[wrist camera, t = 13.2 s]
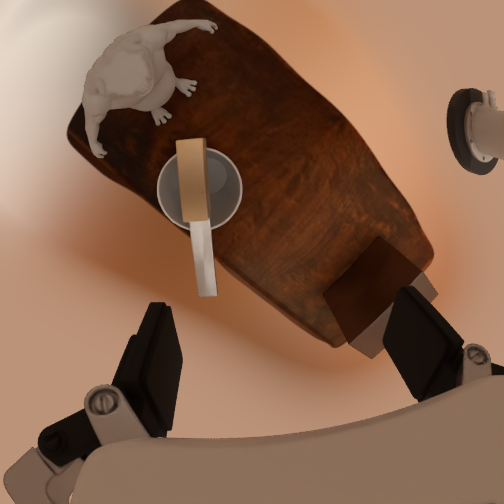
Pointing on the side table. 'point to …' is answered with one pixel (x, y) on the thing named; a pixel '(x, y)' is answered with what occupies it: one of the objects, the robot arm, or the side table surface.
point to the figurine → (135, 76)
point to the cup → (220, 188)
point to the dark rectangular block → (373, 294)
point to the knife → (197, 209)
